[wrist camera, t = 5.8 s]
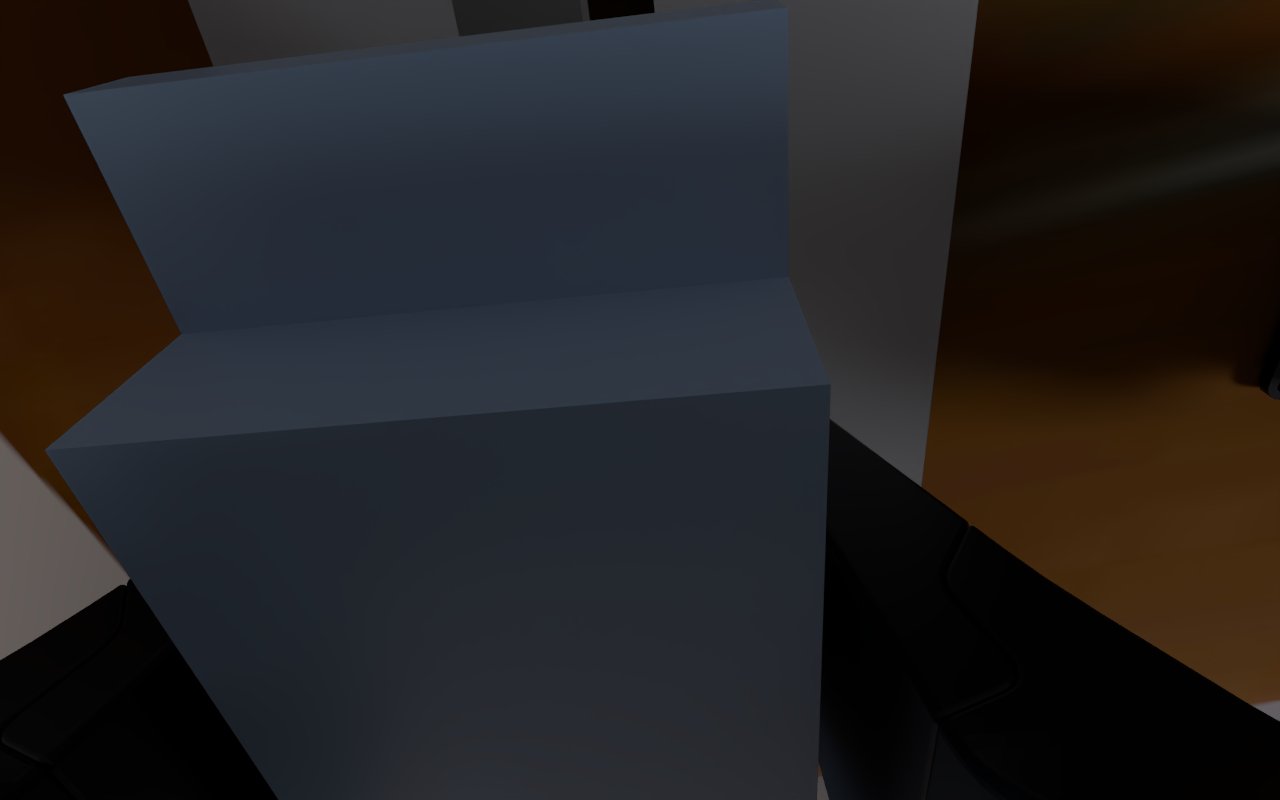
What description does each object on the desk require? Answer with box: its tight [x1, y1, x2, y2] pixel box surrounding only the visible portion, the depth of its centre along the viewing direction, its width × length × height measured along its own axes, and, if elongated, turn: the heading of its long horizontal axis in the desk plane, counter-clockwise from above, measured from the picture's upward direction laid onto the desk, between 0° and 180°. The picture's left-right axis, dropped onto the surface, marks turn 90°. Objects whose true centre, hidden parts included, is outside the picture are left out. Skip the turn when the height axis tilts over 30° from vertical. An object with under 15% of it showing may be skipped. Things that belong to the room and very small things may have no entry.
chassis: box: [188, 0, 978, 486], centre depth 17 cm, size 16×14×4 cm
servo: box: [45, 0, 831, 800], centre depth 8 cm, size 9×4×6 cm, turn 6°
